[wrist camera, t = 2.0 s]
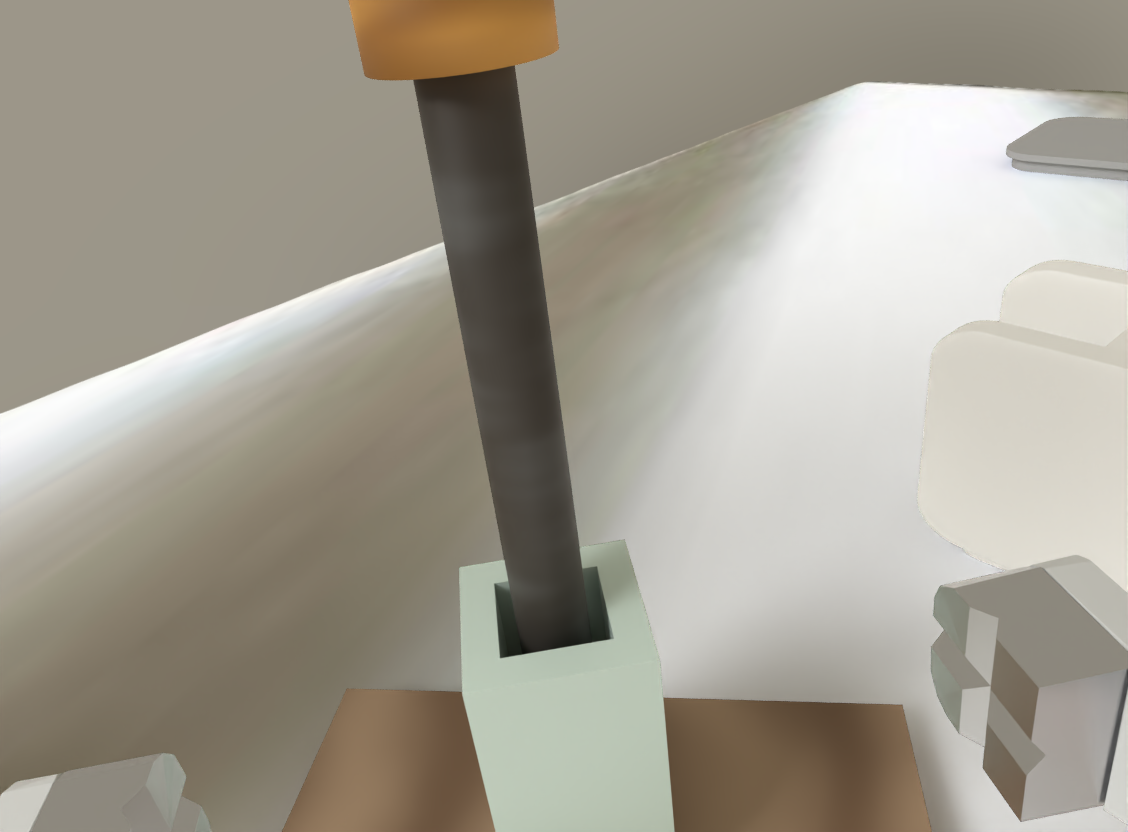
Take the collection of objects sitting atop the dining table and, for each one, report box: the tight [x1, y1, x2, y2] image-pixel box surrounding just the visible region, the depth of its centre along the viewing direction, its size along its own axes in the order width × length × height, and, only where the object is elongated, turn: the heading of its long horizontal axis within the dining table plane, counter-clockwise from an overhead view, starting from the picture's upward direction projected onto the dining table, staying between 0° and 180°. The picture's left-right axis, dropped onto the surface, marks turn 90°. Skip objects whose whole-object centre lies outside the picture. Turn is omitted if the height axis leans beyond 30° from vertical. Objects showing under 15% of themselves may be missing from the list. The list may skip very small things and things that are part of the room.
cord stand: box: [282, 0, 932, 832], centre depth 21 cm, size 22×13×39 cm, turn 82°
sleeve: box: [459, 540, 675, 832], centre depth 26 cm, size 5×5×8 cm
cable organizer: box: [917, 260, 1128, 593], centre depth 39 cm, size 15×11×12 cm
